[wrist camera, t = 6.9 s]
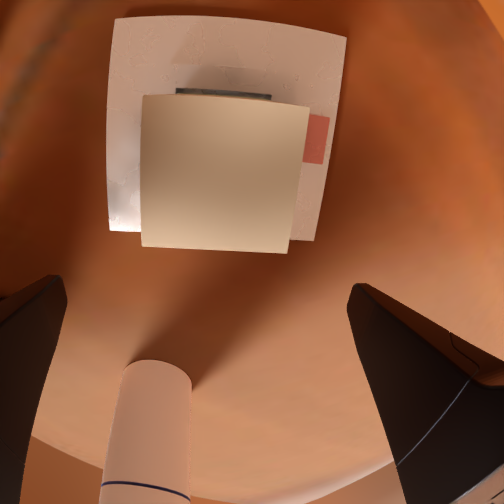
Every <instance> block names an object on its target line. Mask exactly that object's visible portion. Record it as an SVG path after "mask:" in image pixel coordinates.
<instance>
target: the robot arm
mask: <svg viewBox="0 0 504 504" xmlns="http://www.w3.org/2000/svg"><path fill="white" fill-rule="evenodd" d="M66 307H67V295H66V291H65V287H64V283H63V279H62V277H61V276H60V275H47V276H46V277H44V278H42V279H40V280H38V281H36V282H34V283H33V284H31V285H29V286H27V287H25V288H24V289H22V290H20V291H18V292H16V293H15V294H13V295H11V296H9V297H8V298H6V299H3V298H0V504H19V502H20V494H21V486H22V480H23V474H24V468H25V461H26V456H27V451H28V446H29V441H30V437H31V432H32V428H33V424H34V420H35V416H36V412H37V408H38V404H39V401H40V397H41V393H42V390H43V387H44V383H45V380H46V377H47V373H48V370H49V367H50V364H51V361H52V358H53V355H54V352H55V349H56V346H57V342H58V339H59V334H60V330H61V326H62V322H63V318H64V315H65V311H66ZM347 314H348V318H349V321H350V325H351V329H352V333H353V337H354V341H355V345H356V349H357V352H358V355H359V358H360V360H361V363H362V366H363V369H364V371H365V374H366V377H367V380H368V383H369V385H370V388H371V391H372V394H373V397H374V400H375V403H376V406H377V408H378V411H379V414H380V417H381V420H382V423H383V426H384V430H385V433H386V436H387V439H388V442H389V445H390V448H391V451H392V455H393V458H394V461H395V464H396V466H397V467H396V469H397V472H398V475H399V479H400V482H401V485H402V489H403V493H404V496H405V500H406V503H407V504H504V361H502V360H500V359H498V358H497V357H495V356H493V355H491V354H489V353H487V352H485V351H483V350H481V349H479V348H478V347H476V346H474V345H472V344H470V343H469V342H467V341H465V340H463V339H462V338H460V337H458V336H456V335H455V334H453V333H451V332H449V331H448V330H446V329H445V328H443V327H441V326H440V325H438V324H436V323H435V322H433V321H431V320H429V319H428V318H426V317H424V316H423V315H421V314H419V313H417V312H416V311H414V310H412V309H411V308H409V307H407V306H405V305H404V304H402V303H400V302H399V301H397V300H395V299H393V298H392V297H390V296H388V295H386V294H385V293H383V292H381V291H379V290H378V289H376V288H374V287H372V286H371V285H369V284H367V283H356V284H354V285H353V287H352V290H351V294H350V297H349V300H348V303H347Z"/></svg>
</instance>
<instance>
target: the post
mask: <svg viewBox="0 0 504 504" xmlns="http://www.w3.org/2000/svg"><path fill="white" fill-rule="evenodd" d="M309 112H310V107H305V106H300V105H294V104H288V103H282V102H276V101H269V99H262V98H252V97H242V96H230V95H216V94H197V93H178V94H156V95H143V97H142V113H141V137H140V215H141V239H142V246H145V247H165V248H185V249H205V250H225V251H245V252H265V253H285V254H287V250H288V245H289V239H290V233H291V227H292V221H293V216H294V210H295V204H296V198H297V191H298V185H299V179H300V173H301V166H302V160H303V153H304V147H305V140H306V133H307V126H308V119H309Z"/></svg>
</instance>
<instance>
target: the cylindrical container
mask: <svg viewBox="0 0 504 504" xmlns="http://www.w3.org/2000/svg"><path fill="white" fill-rule="evenodd" d="M191 396H192V383H191V380H190V378H189V377H188V375H187V374H186V373H185V372H184V371H182V370H181V369H179V368H178V367H176V366H174V365H172V364H169V363H166V362H163V361H158V360H140V361H136V362H133V363H131V364H129V365H128V366H127V367H126V368H125V370H124V371H123V375H122V380H121V384H120V388H119V392H118V397H117V401H116V406H115V411H114V415H113V420H112V425H111V430H110V435H109V441H108V447H107V452H106V458H105V464H104V471H103V478H102V484H101V492H100V499H99V504H190V430H191Z"/></svg>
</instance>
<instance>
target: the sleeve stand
mask: <svg viewBox="0 0 504 504" xmlns="http://www.w3.org/2000/svg"><path fill="white" fill-rule="evenodd" d="M346 40H347V37H343V36H339V35H335V34H331V33H327V32H323V31H318V30H313V29H309V28H304V27H298V26H293V25H287V24H281V23H274V22H267V21H259V20H251V19H241V18H230V17H214V16H146V17H131V18H120V19H115V24H114V31H113V39H112V47H111V57H110V68H109V80H108V96H107V122H106V169H107V195H108V212H109V225H110V230H111V231H134V232H141V215H140V137H141V113H142V97H143V95H156V94H178V93H197V94H216V95H230V96H242V97H252V98H262V99H269V101H276V102H282V103H288V104H294V105H300V106H305V107H310V112H309V119H308V126H307V133H306V140H305V147H304V153H303V160H302V166H301V173H300V179H299V185H298V191H297V198H296V204H295V210H294V216H293V221H292V227H291V233H290V239H289V240H305V241H314V237H315V232H316V227H317V222H318V217H319V212H320V207H321V202H322V197H323V192H324V186H325V181H326V175H327V170H328V164H329V158H330V153H331V147H332V141H333V134H334V128H335V122H336V115H337V109H338V102H339V95H340V88H341V80H342V73H343V65H344V57H345V48H346Z"/></svg>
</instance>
